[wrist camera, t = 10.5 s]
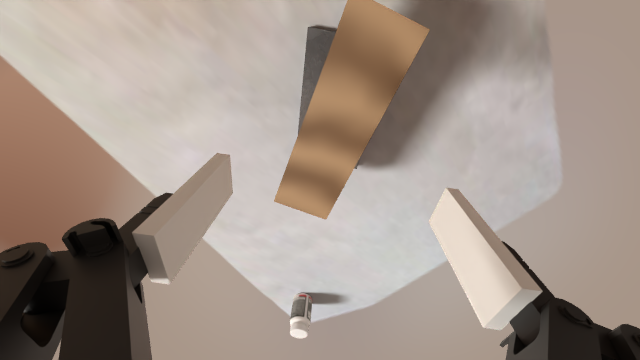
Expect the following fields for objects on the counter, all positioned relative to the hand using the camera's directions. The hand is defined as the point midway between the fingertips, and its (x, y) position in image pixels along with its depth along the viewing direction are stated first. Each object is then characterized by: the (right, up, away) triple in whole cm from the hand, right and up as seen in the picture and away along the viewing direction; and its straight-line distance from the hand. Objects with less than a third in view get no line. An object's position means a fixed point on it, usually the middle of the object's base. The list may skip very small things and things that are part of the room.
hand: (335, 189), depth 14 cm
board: (+1, +8, +13) cm, 15 cm away
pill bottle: (-5, -29, +44) cm, 53 cm away
